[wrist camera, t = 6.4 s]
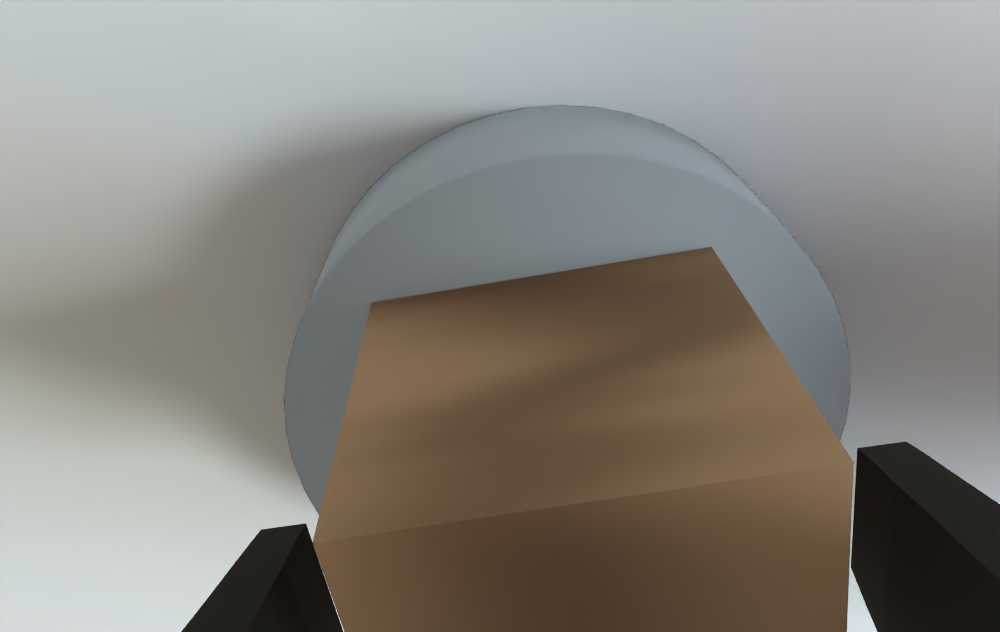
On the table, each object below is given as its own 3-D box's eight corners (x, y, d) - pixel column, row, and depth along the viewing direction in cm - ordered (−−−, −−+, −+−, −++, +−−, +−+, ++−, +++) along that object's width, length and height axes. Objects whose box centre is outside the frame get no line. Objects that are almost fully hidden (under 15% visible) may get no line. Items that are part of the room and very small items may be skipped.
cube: (711, 247, 12) (853, 462, 7) (725, 512, 14) (839, 797, 10) (371, 302, 12) (313, 543, 8) (439, 554, 14) (424, 851, 10)
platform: (756, 37, 13) (824, 75, 11) (809, 464, 18) (868, 568, 15) (240, 181, 14) (186, 248, 12) (404, 555, 18) (391, 668, 16)
